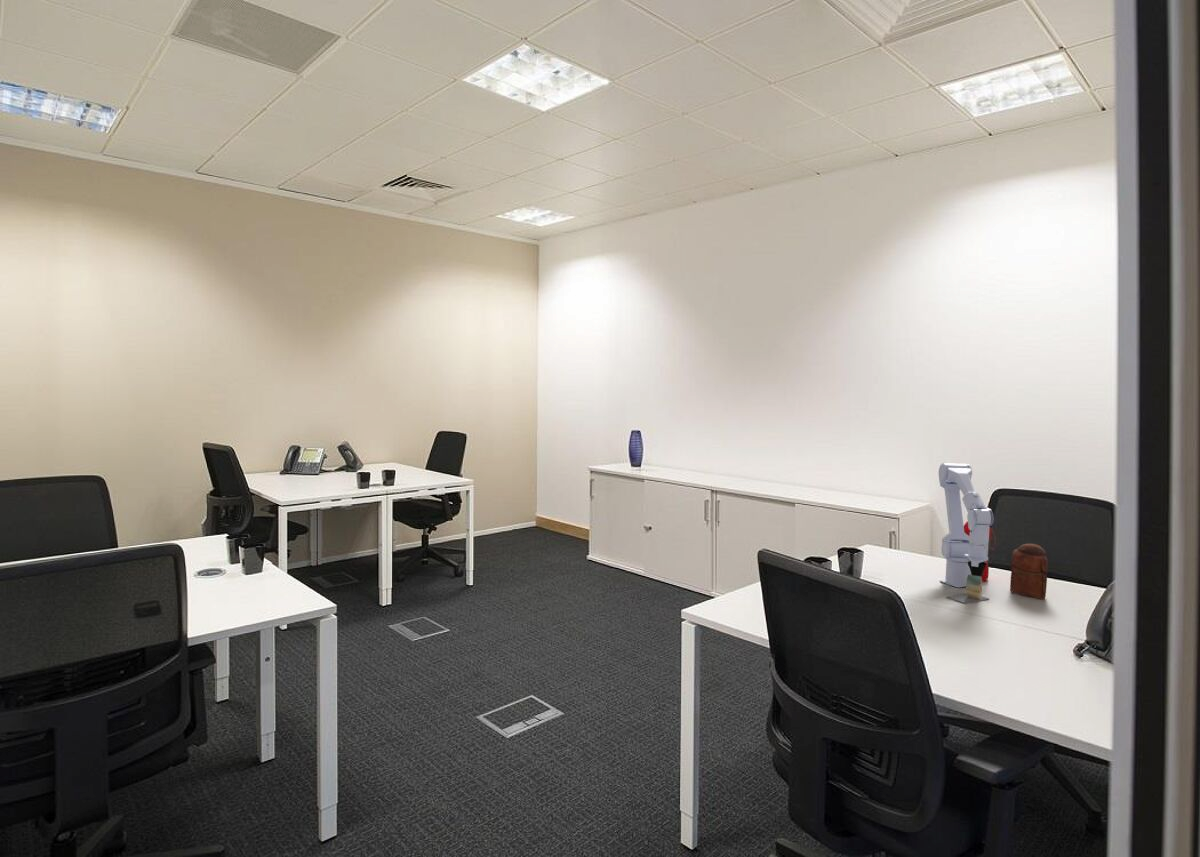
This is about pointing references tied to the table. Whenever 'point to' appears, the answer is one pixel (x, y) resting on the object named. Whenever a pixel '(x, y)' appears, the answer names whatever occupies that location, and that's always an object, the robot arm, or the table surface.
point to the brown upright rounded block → (1029, 571)
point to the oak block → (974, 586)
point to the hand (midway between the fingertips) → (976, 582)
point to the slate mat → (965, 598)
